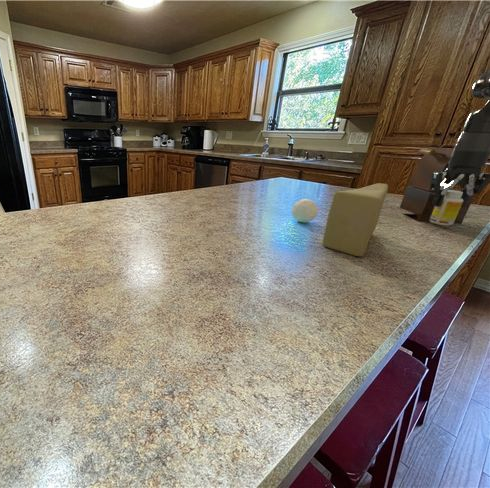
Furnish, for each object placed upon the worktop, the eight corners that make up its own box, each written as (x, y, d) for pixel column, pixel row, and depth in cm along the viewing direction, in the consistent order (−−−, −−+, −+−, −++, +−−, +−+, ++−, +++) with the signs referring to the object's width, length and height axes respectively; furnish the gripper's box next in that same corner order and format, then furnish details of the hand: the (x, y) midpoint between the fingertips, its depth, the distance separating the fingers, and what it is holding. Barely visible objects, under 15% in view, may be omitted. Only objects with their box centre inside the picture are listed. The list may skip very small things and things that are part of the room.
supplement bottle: (456, 224, 84) (471, 192, 80) (446, 226, 82) (460, 194, 78) (435, 219, 89) (448, 188, 85) (424, 221, 87) (437, 190, 83)
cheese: (351, 228, 84) (365, 180, 78) (388, 237, 77) (408, 185, 71) (319, 245, 71) (333, 189, 65) (361, 258, 64) (382, 197, 58)
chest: (435, 213, 100) (446, 187, 96) (461, 223, 89) (475, 194, 85) (397, 212, 102) (407, 186, 98) (418, 221, 91) (430, 193, 87)
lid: (430, 147, 92) (415, 144, 92) (458, 149, 82) (441, 146, 82) (408, 185, 98) (394, 182, 98) (432, 191, 87) (416, 188, 87)
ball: (294, 229, 90) (282, 210, 89) (306, 217, 94) (295, 198, 93) (315, 225, 84) (302, 203, 83) (327, 211, 87) (315, 191, 86)
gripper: (453, 150, 75) (430, 208, 81) (515, 150, 72) (485, 211, 79) (434, 148, 81) (413, 202, 88) (489, 148, 79) (464, 204, 86)
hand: (447, 206), depth 83 cm, fingers closed on supplement bottle, 5 cm apart
